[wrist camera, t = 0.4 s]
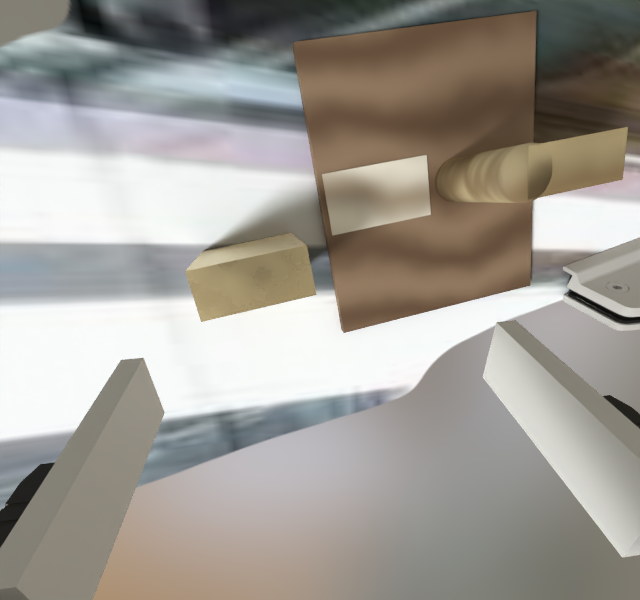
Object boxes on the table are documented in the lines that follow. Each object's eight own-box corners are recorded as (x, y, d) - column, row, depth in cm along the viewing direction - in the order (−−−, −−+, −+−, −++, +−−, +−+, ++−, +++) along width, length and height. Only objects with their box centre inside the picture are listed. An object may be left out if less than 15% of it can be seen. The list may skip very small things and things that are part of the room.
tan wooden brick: (203, 250, 33) (185, 271, 24) (290, 232, 35) (306, 244, 25) (214, 288, 35) (201, 321, 25) (298, 269, 36) (316, 294, 27)
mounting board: (292, 46, 30) (315, -34, 20) (528, 16, 33) (654, -67, 23) (341, 329, 39) (375, 376, 29) (523, 283, 42) (613, 310, 32)
